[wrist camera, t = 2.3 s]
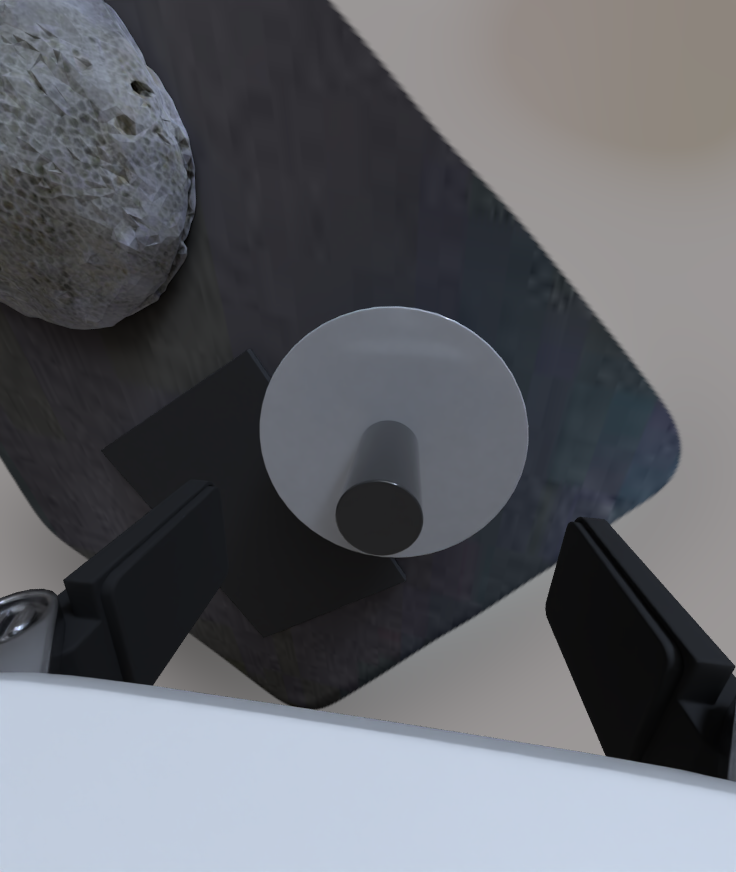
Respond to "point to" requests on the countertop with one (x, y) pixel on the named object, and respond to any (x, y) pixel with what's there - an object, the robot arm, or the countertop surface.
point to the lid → (394, 431)
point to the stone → (86, 167)
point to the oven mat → (246, 501)
